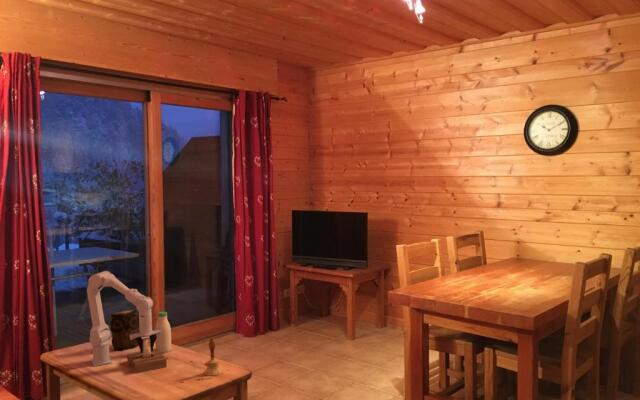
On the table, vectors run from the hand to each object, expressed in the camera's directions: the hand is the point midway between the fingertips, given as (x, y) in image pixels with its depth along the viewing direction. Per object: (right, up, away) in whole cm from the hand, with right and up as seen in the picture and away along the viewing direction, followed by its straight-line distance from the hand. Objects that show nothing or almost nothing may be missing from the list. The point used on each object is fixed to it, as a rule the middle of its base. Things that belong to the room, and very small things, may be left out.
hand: (146, 351), depth 250 cm
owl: (-20, -6, +27) cm, 34 cm away
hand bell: (+34, -7, -12) cm, 37 cm away
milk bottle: (+2, -6, +19) cm, 20 cm away
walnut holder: (0, -6, 0) cm, 6 cm away
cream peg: (0, -3, 0) cm, 3 cm away
